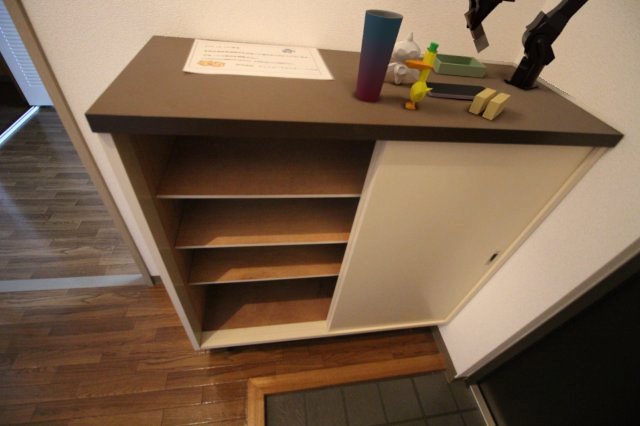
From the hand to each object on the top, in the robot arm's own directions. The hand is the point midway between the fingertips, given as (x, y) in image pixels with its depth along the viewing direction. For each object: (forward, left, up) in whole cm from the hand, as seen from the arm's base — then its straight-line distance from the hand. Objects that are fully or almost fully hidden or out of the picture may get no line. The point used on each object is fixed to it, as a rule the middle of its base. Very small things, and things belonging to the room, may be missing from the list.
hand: (470, 29), depth 74 cm
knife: (-5, +3, -4) cm, 7 cm away
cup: (+37, +8, -10) cm, 39 cm away
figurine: (+25, +4, -10) cm, 27 cm away
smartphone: (+14, +13, -10) cm, 22 cm away
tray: (0, 0, -10) cm, 10 cm away
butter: (+15, +22, -10) cm, 29 cm away
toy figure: (+31, +15, -10) cm, 36 cm away
